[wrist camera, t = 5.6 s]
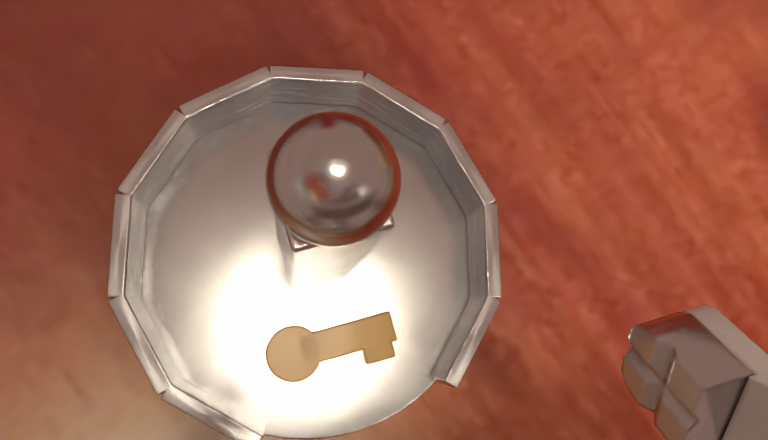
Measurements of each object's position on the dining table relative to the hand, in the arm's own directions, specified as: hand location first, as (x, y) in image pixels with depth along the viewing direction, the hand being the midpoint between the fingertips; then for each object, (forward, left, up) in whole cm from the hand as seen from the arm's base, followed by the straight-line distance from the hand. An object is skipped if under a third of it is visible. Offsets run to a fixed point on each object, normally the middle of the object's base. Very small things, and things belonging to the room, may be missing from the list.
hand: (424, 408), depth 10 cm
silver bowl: (+4, +1, -10) cm, 11 cm away
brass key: (+1, +1, -10) cm, 10 cm away
